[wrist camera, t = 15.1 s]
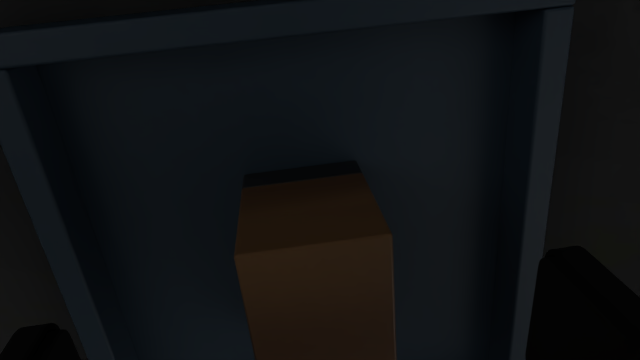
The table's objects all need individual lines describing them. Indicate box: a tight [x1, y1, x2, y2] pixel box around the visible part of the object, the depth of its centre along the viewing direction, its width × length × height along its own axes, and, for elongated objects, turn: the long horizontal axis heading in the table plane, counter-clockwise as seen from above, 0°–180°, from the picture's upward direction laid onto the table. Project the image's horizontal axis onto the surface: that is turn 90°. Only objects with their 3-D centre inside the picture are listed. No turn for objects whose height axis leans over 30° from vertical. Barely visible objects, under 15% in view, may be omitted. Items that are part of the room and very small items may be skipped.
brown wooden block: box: [234, 161, 397, 360], centre depth 13 cm, size 6×4×4 cm, turn 6°
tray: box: [0, 0, 575, 360], centre depth 15 cm, size 16×15×2 cm
